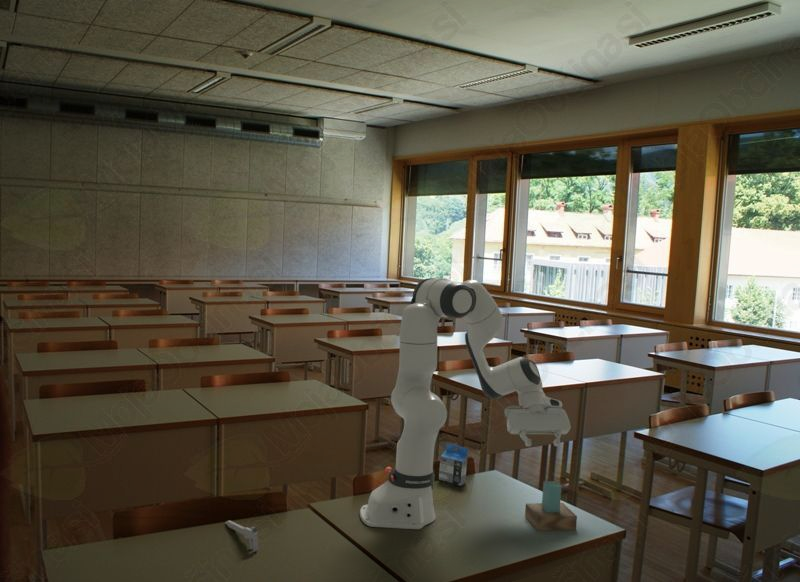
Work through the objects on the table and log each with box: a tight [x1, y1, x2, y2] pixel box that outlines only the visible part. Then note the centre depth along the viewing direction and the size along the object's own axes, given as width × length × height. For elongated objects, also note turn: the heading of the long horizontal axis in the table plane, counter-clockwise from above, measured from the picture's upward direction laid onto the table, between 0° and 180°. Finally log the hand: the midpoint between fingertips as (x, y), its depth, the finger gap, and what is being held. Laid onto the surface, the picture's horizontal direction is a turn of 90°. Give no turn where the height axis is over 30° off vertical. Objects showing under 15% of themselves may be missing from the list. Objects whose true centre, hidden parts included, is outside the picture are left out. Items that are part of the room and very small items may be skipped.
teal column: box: [541, 480, 562, 513], centre depth 202 cm, size 4×4×8 cm
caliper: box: [224, 520, 259, 553], centre depth 182 cm, size 20×1×6 cm, turn 35°
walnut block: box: [524, 502, 578, 531], centre depth 203 cm, size 12×10×4 cm
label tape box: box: [438, 442, 468, 486], centre depth 233 cm, size 9×4×12 cm, turn 55°
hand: (543, 445), depth 210 cm, fingers open, 8 cm apart
